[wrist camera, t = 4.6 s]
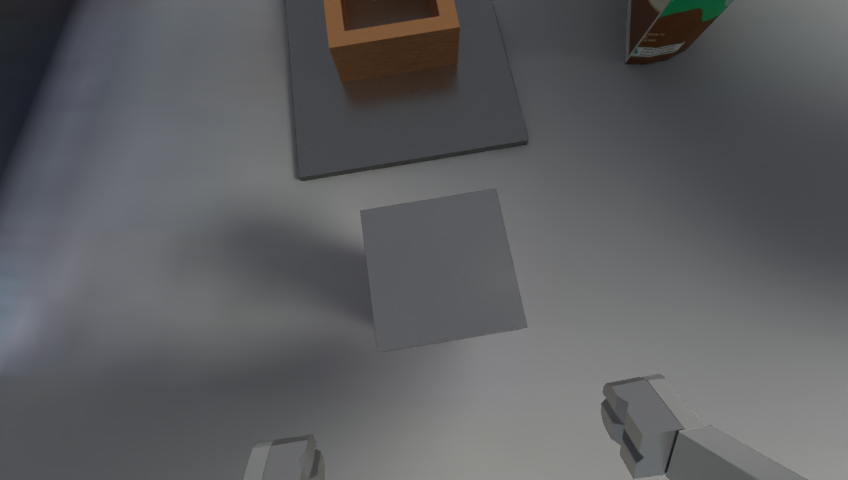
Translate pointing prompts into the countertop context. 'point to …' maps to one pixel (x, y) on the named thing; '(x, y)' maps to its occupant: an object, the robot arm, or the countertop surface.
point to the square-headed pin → (440, 271)
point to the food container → (666, 27)
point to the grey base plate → (397, 83)
